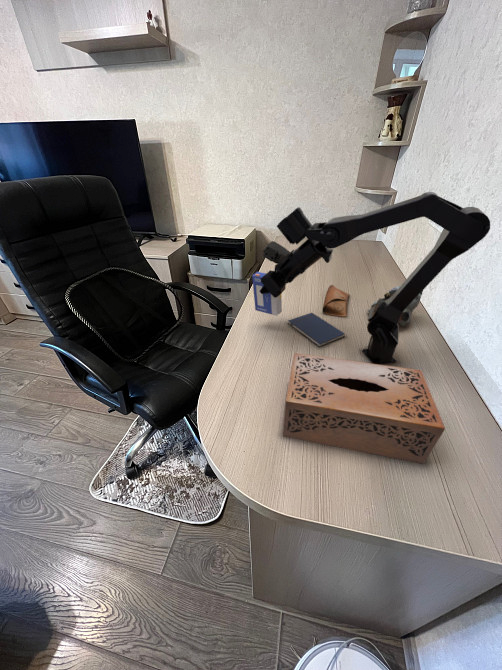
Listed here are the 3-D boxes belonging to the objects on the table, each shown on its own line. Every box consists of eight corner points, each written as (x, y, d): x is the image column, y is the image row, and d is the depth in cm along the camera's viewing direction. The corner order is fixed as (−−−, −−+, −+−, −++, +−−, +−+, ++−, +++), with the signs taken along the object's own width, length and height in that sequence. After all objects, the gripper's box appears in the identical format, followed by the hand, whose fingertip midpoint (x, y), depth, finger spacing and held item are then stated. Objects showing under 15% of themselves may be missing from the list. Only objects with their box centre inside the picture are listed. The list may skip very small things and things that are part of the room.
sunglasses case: (347, 316, 93) (340, 299, 90) (327, 322, 96) (320, 306, 94) (349, 294, 107) (343, 279, 105) (332, 300, 111) (325, 285, 108)
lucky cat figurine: (361, 308, 98) (383, 272, 94) (391, 322, 99) (414, 287, 95) (378, 319, 84) (404, 276, 80) (412, 335, 85) (440, 294, 81)
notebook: (344, 337, 84) (345, 333, 83) (319, 347, 80) (319, 343, 79) (311, 315, 95) (312, 312, 94) (287, 323, 90) (288, 320, 90)
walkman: (255, 310, 86) (251, 274, 78) (259, 306, 87) (257, 270, 80) (277, 316, 82) (276, 279, 75) (282, 311, 84) (281, 274, 76)
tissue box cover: (406, 404, 62) (421, 370, 56) (423, 463, 50) (445, 428, 45) (291, 385, 67) (294, 352, 61) (282, 435, 55) (285, 401, 50)
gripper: (294, 225, 77) (258, 259, 87) (268, 242, 63) (229, 280, 73) (319, 256, 78) (280, 286, 88) (299, 280, 64) (256, 312, 74)
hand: (262, 290), depth 81 cm, fingers closed on walkman, 3 cm apart
